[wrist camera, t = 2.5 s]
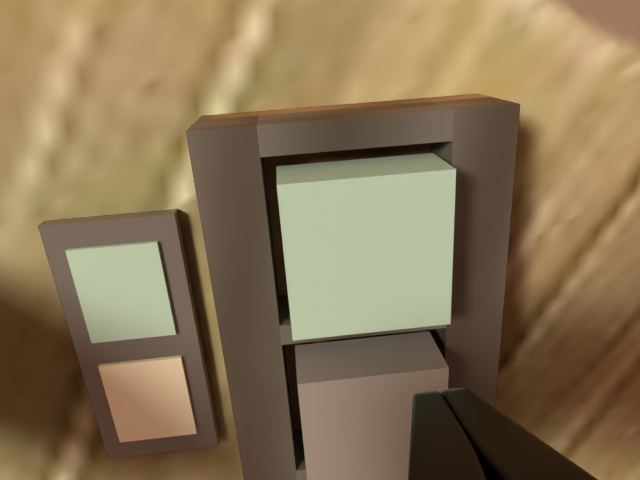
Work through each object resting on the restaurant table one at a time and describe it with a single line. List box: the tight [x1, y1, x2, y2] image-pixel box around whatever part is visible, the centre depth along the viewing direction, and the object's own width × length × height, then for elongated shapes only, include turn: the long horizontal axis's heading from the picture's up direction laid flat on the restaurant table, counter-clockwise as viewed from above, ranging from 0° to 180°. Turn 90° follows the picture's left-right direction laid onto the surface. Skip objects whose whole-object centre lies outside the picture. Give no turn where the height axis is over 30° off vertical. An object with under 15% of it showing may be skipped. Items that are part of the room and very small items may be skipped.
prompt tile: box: [38, 209, 219, 459], centre depth 18 cm, size 4×10×1 cm, turn 4°
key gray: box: [295, 331, 449, 480], centre depth 16 cm, size 4×4×2 cm
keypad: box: [186, 94, 520, 480], centre depth 18 cm, size 9×19×3 cm, turn 4°
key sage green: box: [276, 153, 456, 341], centre depth 14 cm, size 4×4×2 cm
